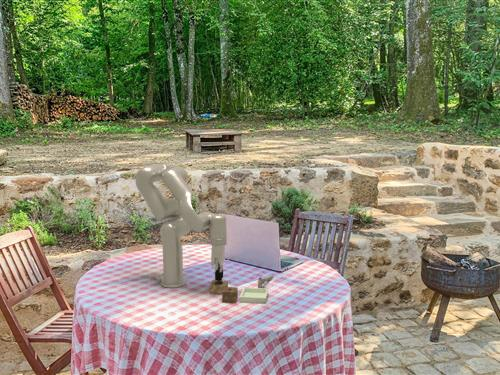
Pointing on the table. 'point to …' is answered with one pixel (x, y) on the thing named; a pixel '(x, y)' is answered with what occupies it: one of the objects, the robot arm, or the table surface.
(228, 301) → the block
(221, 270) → the pin
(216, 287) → the brown hex nut
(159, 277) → the robot arm
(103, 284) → the table surface
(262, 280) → the caliper
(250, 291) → the tray
